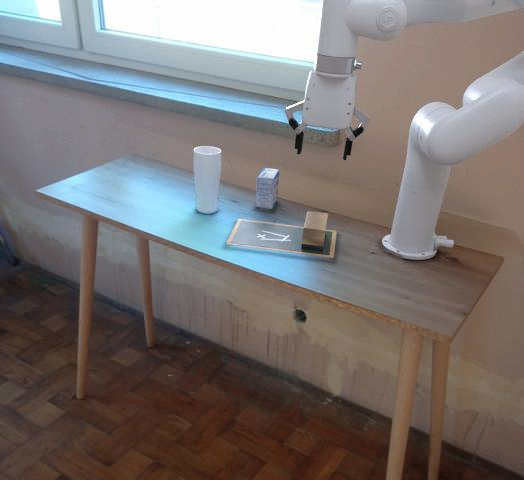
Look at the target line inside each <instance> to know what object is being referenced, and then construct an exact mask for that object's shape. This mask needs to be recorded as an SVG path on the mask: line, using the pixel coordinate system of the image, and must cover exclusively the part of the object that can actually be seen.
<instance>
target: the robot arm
mask: <svg viewBox="0 0 524 480" xmlns="http://www.w3.org/2000/svg"><path fill="white" fill-rule="evenodd" d="M522 9H524V0H321V7H320V15H319V23H318V33H317V41H316V50H315V57H314V66H313V69H310V71H309V74H308V78H307V82H306V86H305V92H304V98H303V100H302V101H299V102H297V103H295V104H293V105H292V104H291V105H289V106H288V107H286V108H285V110H284V114H285V117H286V119H287V122H288V125H289V126H290V127H291V129H292V130H293V132H294V134H295V140H294V141H295V142H294V150H295V149H296V155H301V154H302V151H303V144H304V135H305V132H304V130H305V129H306V128H308V127H313V128H321V129H328V130H336V131H337V130H338V131H344V133H345V136H347V137H346V138H345V144H344V150H343V156H342V160H343V161H347V158H348V157H349V156H351V153H352V148H353V142H354V140H355V139H356V138H358V137H359V136H360V135H362V134H363V133H364V131H365V130H366V129H367V127H368V126H369V124H370V123H371V117H370V116H368V115H367V114H366V113H365V112H363V111H361V110H360V109H359V108H357V107H356V106H355V105H356V95H357V75H356V73H355V74H354V71H355V70H356V71H357V70H362V64H363V61H359V60H357V58H356V56H357V55H356V54H357V49H358V42H359V37H363V38H367V39H372V40H374V41H379V42H380V41H381V42H386V41H390V40H392V39H395V38H396V37H398V36H399V35H400V34H401V33H402V32H403V30H404V28H406V27H411V26H416V25H423V24H443V25H444V24H446V25H452V24H453V25H455V24H462V23H467V22H472V21H475V20H480V19H483V18H487V17H491V16H495V15H499V14H505V13H509V12H513V11H518V10H522ZM301 110H302V112H301V121H300V122H298V121H297V120H296V117H295V115H294V113H297V112H299V111H301ZM354 117H355V118H357V119H358V120H359V121H361V122H360V124H359V125H358V126H357V127H356V128H355V129H353V127H352V122H353V119H354ZM523 124H524V50H523V51H521V52H520V53H518V54H516V56H514V57H512V58H511V59H509V60H508V61H506V62H504V63H502V64H500V65H498V67H496V68H494V69H492V70H490V71H489V72H487V73H485V74H483V75H482V76H480V77H478V78H477V79H474V81H472V83H470V85H468V86H467V88H466V89H465V91H464V94H463V96H462V107H460V108H459V109H456V108H455V107H453V106H452V105H451V104H448V103H446V102H442V101H433V102H429V103H427V104H425V105H423V106H422V107H421V108H420V109H418V111H417V112H416V114H414V116H413V118H412V121H411V123H410V127H409V132H408V138H407V140H408V141H407V149H406V158H405V164H404V169H403V173H402V178H401V183H400V187H399V191H398V192H399V193H398V196H397V202H396V207H395V211H394V216H393V220H392V226H391V230H390V233H389V234H387V235H385V236H383V237H382V240H381V244H382V245H383V246H384V247H385V249H387V250H388V251H390V252H392V253H393V254H394V253H395V254H397V255H401V258H402V259H405V260H411V261H424V260H429V259H431V258H434V257H435V256H436V254H437V252H438V248H444V249H451V250H452V249H453V248H454V244H455V240H453V239H448V237H447V235H446V236H445V235H437V233H436V228H437V224H438V220H439V216H440V212H441V208H442V205H443V201H444V198H445V194H446V190H447V186H448V183H449V178H450V173H451V169H452V166H455V165H458V164H460V163H462V162H465V161H466V160H468V159H470V158H472V157H474V156H475V155H477V154H479V153H481V152H483V151H484V150H486V149H488V148H490V147H492V146H493V145H496V144H497V143H498V142H501V141H503V140H504V139H506V138H507V137H509V136H511V135H512V134H513V133H515V132H517V130H518V129H519V128H520V127H521V126H522V125H523Z"/></svg>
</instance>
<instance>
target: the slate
mask: <svg viewBox="0 0 524 480" xmlns="http://www.w3.org/2000/svg"><path fill="white" fill-rule="evenodd" d="M303 228H304V226H301V225H292V224H285V223H277V222H276V223H275V222H268V221H261V220H252V219H244V218H238V219H237V221H236V222H235V225H234V226H233V228H232V231H231V232H230V235H229V236H228V239H227V241H226V243H225V245H228V246H236V247H244V248H251V249H259V250H268V251H275V252H283V253H292V254H299V255H307V256H314V257H322V258H329V259H334V257H335V251H336V241H337V233H338V230H333V229H326V233H325V239H324V246H323V251H316V250H308V249H301V245H302V236H303Z"/></svg>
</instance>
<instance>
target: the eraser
mask: <svg viewBox="0 0 524 480" xmlns="http://www.w3.org/2000/svg"><path fill="white" fill-rule="evenodd" d="M328 219H329V213H327V212H320V211H311V210H307V212H306V216H305V220H304V224H303V227H304V228H303V236H302V245H301V249H308V250H316V251H323V246H324V239H325V233H326V230H327V225H328Z"/></svg>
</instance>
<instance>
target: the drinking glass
mask: <svg viewBox="0 0 524 480" xmlns="http://www.w3.org/2000/svg"><path fill="white" fill-rule="evenodd" d="M192 151H193V152H192V153H193V154H192V166H193V179H194V180H193V181H194V189H195V190H194V191H195V201H196V203H195V205H196V207H195V208H196V211H197V212H199V213H201V214H205V215H209V214H210V215H211V214H214V213H216V212H217V211H218V208H219V194H220V184H221V175H222V174H221V173H222V149H221V148H218V147H216V146H211V145H203V146H202V145H201V146H196V147H194V148H193V150H192Z"/></svg>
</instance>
